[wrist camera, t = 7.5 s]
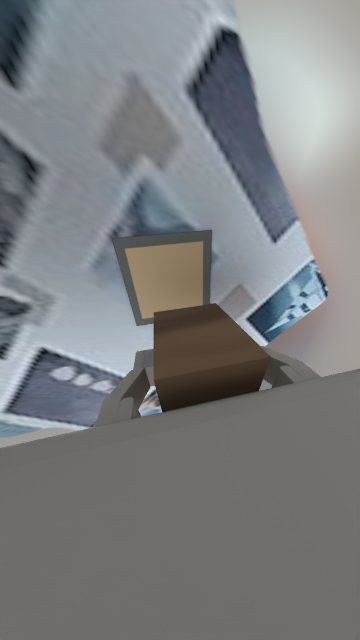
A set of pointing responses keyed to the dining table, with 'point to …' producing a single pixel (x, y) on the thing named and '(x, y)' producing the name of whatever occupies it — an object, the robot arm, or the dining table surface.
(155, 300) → the coaster mat
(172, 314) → the walnut block
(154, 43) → the dining table surface
